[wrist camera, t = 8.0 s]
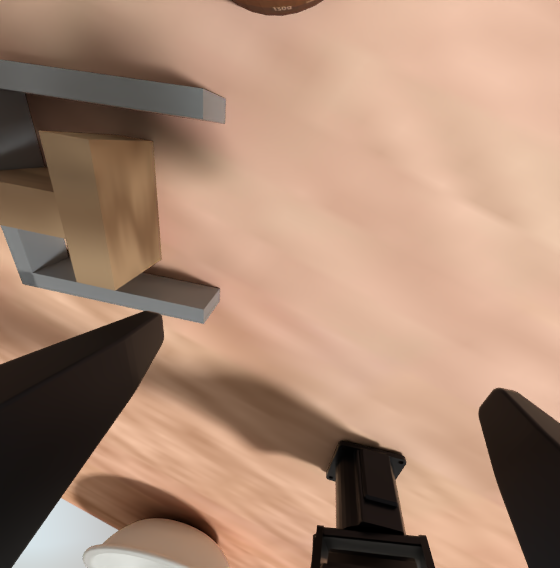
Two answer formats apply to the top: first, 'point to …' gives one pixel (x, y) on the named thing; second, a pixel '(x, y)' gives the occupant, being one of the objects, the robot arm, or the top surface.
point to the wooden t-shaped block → (90, 203)
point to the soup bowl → (156, 547)
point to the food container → (276, 6)
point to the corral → (26, 154)
